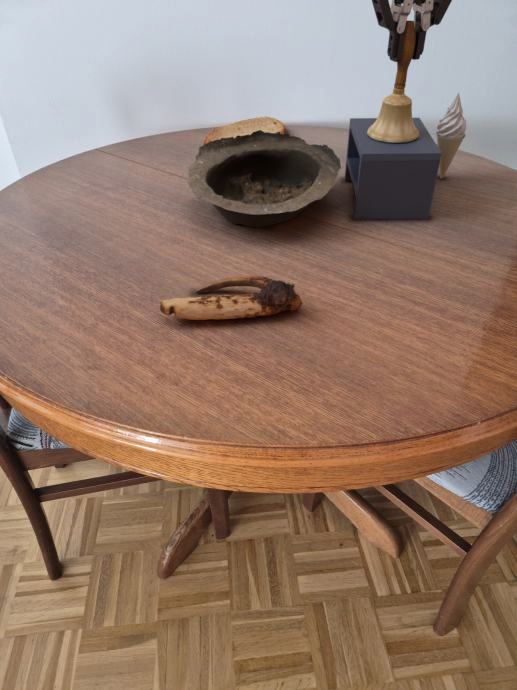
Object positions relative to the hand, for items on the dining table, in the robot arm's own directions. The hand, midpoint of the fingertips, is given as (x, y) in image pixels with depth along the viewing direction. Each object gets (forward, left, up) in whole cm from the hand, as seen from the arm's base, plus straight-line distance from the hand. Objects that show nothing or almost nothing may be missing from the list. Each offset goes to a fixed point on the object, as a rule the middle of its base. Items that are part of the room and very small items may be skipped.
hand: (404, 59), depth 81 cm
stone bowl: (+21, +4, -22) cm, 31 cm away
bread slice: (+25, -27, -22) cm, 43 cm away
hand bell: (0, 0, -11) cm, 11 cm away
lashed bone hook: (+25, +32, -22) cm, 46 cm away
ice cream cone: (-12, -8, -22) cm, 27 cm away
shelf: (0, 0, -22) cm, 22 cm away
